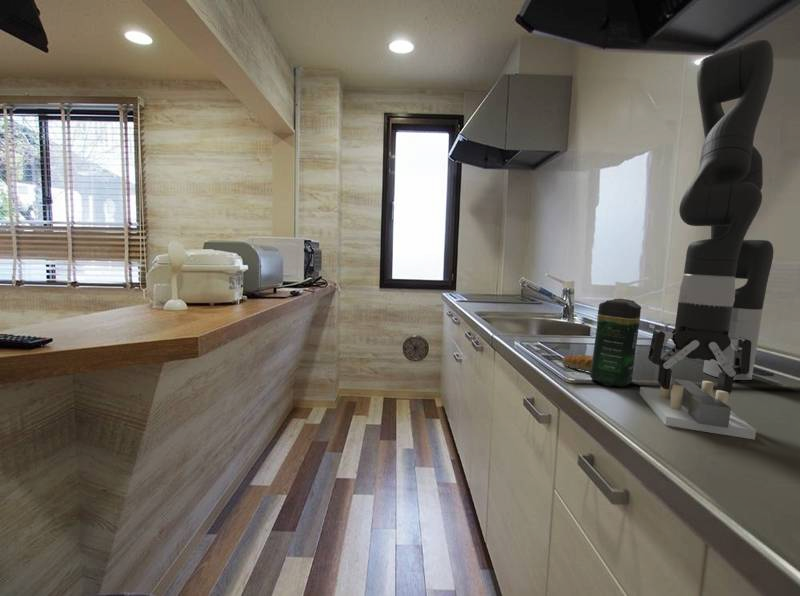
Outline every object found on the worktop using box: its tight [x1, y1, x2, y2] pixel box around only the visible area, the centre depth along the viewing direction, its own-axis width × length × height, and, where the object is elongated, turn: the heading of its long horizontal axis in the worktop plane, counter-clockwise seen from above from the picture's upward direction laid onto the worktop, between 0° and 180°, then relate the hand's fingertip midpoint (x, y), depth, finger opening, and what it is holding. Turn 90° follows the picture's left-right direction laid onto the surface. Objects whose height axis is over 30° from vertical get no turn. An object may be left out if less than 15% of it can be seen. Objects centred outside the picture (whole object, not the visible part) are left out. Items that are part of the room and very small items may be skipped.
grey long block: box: [672, 378, 732, 428], centre depth 68 cm, size 14×4×3 cm, turn 162°
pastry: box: [562, 354, 593, 372], centre depth 96 cm, size 9×7×4 cm
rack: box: [639, 376, 757, 440], centre depth 70 cm, size 16×12×6 cm
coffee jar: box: [589, 298, 642, 388], centre depth 86 cm, size 10×8×19 cm
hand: (692, 391), depth 69 cm, fingers open, 8 cm apart
